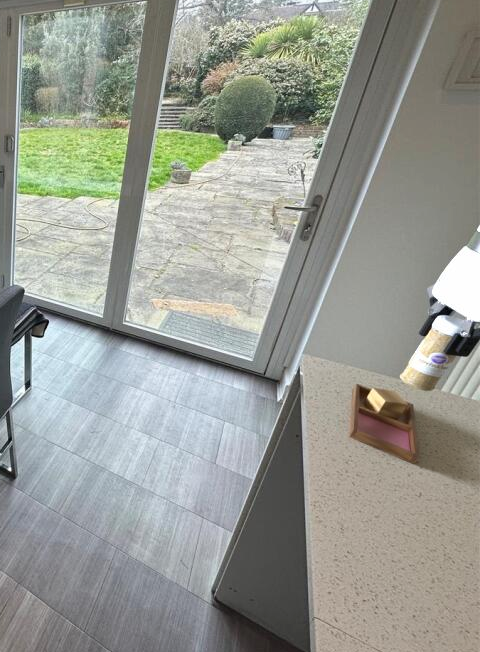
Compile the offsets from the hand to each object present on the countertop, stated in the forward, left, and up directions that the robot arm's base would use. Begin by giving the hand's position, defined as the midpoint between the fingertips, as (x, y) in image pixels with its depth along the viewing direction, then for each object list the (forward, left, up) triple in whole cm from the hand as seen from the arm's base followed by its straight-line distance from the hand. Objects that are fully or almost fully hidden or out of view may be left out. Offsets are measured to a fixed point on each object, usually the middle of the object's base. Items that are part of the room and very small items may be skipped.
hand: (442, 344), depth 70 cm
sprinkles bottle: (0, 0, -9) cm, 9 cm away
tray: (-2, -4, -22) cm, 23 cm away
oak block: (-4, -8, -22) cm, 24 cm away
